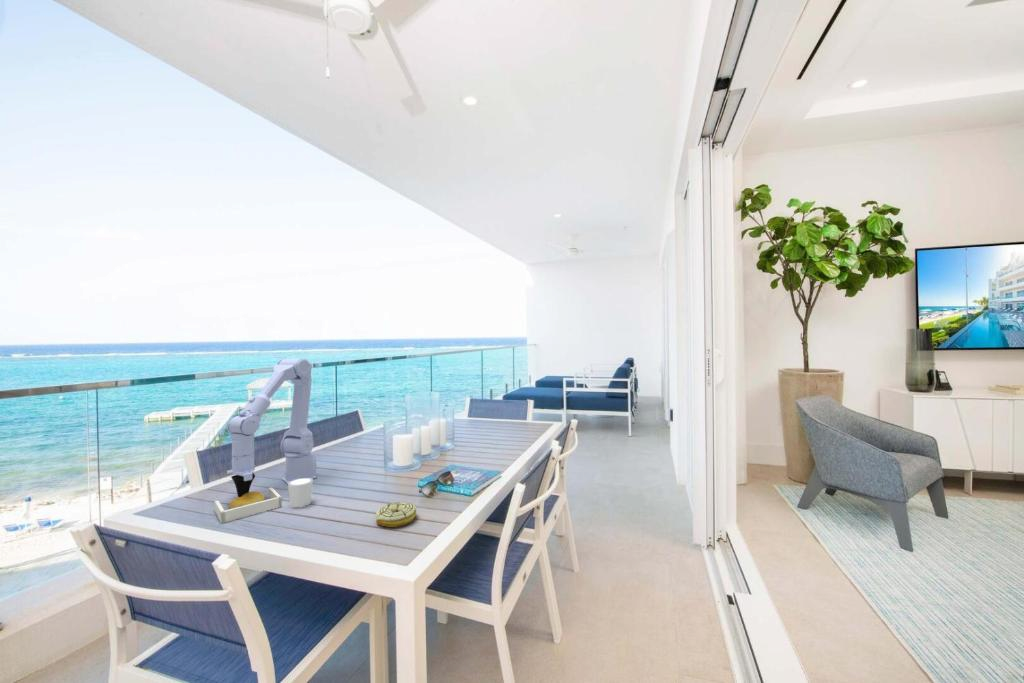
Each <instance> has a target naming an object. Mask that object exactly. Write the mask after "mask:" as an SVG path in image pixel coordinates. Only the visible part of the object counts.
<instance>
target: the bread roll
mask: <svg viewBox="0 0 1024 683" xmlns="http://www.w3.org/2000/svg"><path fill="white" fill-rule="evenodd" d="M265 500H266V497H265V495H264V494H263V493H261V492H259V491H249V492H248V493H245V494H244V495H242V496H241V497H238V496H237V497H235V498H234V499H233V500H232V501H230V503H229V505H228V510H229V509H233V508H237V507H241V506H245V505H249V504H253V503H257V502H261V501H265Z"/></svg>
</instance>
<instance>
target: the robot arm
mask: <svg viewBox="0 0 1024 683" xmlns="http://www.w3.org/2000/svg"><path fill="white" fill-rule="evenodd" d="M312 366H313V365H312V364H311V362H309V361H308V359H306V358H302V357H301V358H286V357H283V358H281V359H279V360H278V361H277V362H276V363H275V365H274V366H273V372H272V374H271V375H270V377H269V379H268V380H267V382H266V383H265V385H264V386H263V388H262V389H261V390H260V392H259V394H255V395H253V396H252V397H251V396H250V397H249V398H248V402H247V403H246V405H245V406H244V407H243V408H242V410H240V411H239V413H238V415H236V416H234V417H232V419H230V421H229V422H228V425H227V426H226V430H227V432H228V433H229V434H230V439H231V469H229V470H227V471H226V473H227V475H232V476H231V477H230V478H231V479H232V481H233V483H234V485H235V489H236V494H237V498H238V497H241V496H242V495H244V494H245V493H248V492H250V489H251V486H252V483H253V482H254V480H255V478H256V474H254V472H255V470H256V466H255V433H256V432H257V431H258V430H259V428H260V422H261V419H262V417H263V415H265V413H266V411H267V410H268V408H269V407H270V406H271V398H272V397H273V395H275V393H276V392H277V391H278V389H280V387H282V385H283V384H284V383H285V382H286V381H290V382H291V383H292V384H293V395H292V403H291V404H292V405H291V412H290V413H291V414H290V422H289V423H290V424H289V428H288V429H287V430H285V432H284V433H283V438H282V439H281V442H280V450H281V452H282V453H283V456H284V457H285V476H284V477H281V480H282V481H283V482H285V484H287V485H288V483H289V482H290V481H292V480H295V479H299V478H312V479H313V480H314V479H317V456H316V454H315V452H314V451H312V450H313V449H314V444H315V443H314V440H313V439H314V438H313V436H314V435H313V434H314V433H313V432H312V431H311V430H310V429H309V428H308V418H309V411H310V402H311V400H310V398H311V390H312V375H311V374H312Z"/></svg>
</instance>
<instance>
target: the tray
mask: <svg viewBox="0 0 1024 683" xmlns="http://www.w3.org/2000/svg"><path fill="white" fill-rule="evenodd" d="M269 497H270V498H269ZM282 498H283V496H282V495H280V494H279V493H278V492H277V491H276V490H275V489H274V488H273V487H269V488H268V499H265V501H261V502H257V503H253V504H249V505H245V506H241V507H237V508H233V509H229V508H228V509H226V510H225V509H224V508H223V506H222V504H221V502H220V501H219V500H215V501H214V512H215V514H217V515H216V517H217V518H218V520H219V522H220V524H224V523H228V522H232V521H235V520H238V519H243V518H247V517H250V515H251V516H253V515H258V514H261V513H260V512H262V513H264V512H263V511H265V512H268V511H267V510H269V511H272V510H271V509H273V510H276V509H279V508H278V507H280V508H282V507H283V506H282V504H283V502H282V501H283V499H282ZM275 508H276V509H275ZM257 513H258V514H257Z"/></svg>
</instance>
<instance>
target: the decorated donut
mask: <svg viewBox="0 0 1024 683" xmlns="http://www.w3.org/2000/svg"><path fill="white" fill-rule="evenodd" d="M416 515H417V507H416V505H414V503H411V502H407V501H401V502H400V501H399V502H393V503H389V504H386V505H384V506H382V507H380V508H379V509H378V510H376V512H375V521H376V524H377V525H379V526H382V527H383V526H386V527H387V528H398V526H399V527H404V526H406V525H408V524H407V523H409V524H410V523H411V522H413V521H414V519H415V517H416ZM405 524H406V525H405ZM403 525H404V526H403ZM386 527H385V528H386Z"/></svg>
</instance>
